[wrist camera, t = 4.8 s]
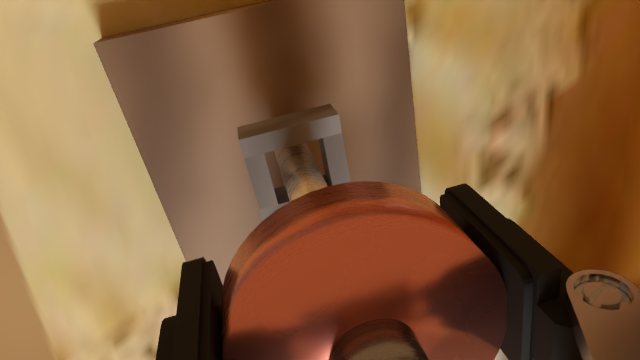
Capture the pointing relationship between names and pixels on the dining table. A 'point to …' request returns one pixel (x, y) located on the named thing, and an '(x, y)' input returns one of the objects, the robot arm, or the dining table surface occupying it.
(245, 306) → the orange knobbed disc
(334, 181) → the eye stand
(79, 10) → the dining table surface
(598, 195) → the dining table surface
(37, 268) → the dining table surface
